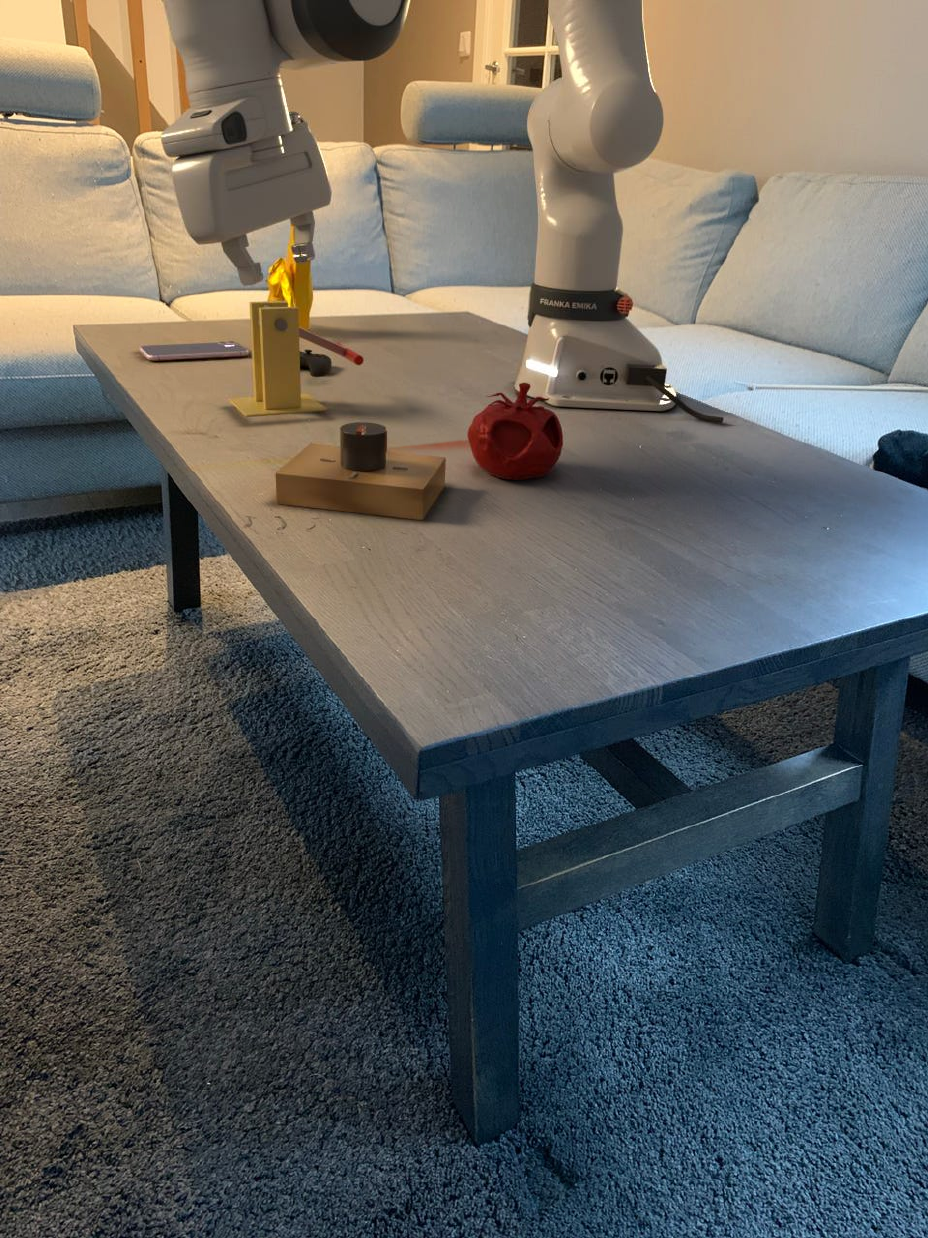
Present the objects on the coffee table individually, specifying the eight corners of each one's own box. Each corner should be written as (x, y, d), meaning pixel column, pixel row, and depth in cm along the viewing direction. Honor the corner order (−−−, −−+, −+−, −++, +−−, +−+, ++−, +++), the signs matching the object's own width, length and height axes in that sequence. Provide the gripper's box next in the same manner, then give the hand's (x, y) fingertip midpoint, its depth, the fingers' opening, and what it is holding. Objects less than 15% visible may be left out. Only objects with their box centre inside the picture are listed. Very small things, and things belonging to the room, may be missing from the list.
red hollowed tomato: (451, 460, 104) (455, 374, 100) (534, 453, 108) (541, 370, 104) (490, 490, 96) (496, 397, 92) (577, 481, 100) (587, 392, 96)
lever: (336, 357, 122) (344, 339, 122) (359, 371, 116) (367, 352, 116) (250, 319, 116) (257, 300, 115) (269, 331, 109) (277, 311, 109)
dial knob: (346, 455, 94) (346, 417, 92) (390, 459, 94) (391, 420, 92) (335, 469, 90) (334, 429, 89) (381, 473, 90) (381, 433, 88)
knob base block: (444, 485, 97) (445, 455, 95) (422, 520, 88) (423, 487, 87) (311, 471, 99) (310, 441, 97) (276, 503, 90) (275, 471, 89)
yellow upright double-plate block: (306, 402, 123) (304, 298, 117) (327, 418, 117) (326, 309, 111) (229, 407, 119) (222, 300, 113) (246, 424, 113) (240, 311, 107)
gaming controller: (256, 368, 134) (271, 333, 136) (272, 390, 139) (287, 355, 141) (317, 377, 131) (332, 341, 133) (331, 399, 136) (345, 364, 138)
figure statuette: (257, 323, 170) (250, 186, 160) (301, 322, 173) (297, 187, 163) (280, 343, 155) (275, 194, 145) (327, 341, 158) (325, 195, 148)
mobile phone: (137, 344, 144) (237, 339, 150) (138, 350, 145) (237, 346, 151) (147, 354, 138) (250, 349, 144) (148, 361, 139) (250, 356, 145)
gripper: (278, 113, 100) (310, 252, 107) (146, 139, 85) (193, 299, 92) (328, 104, 97) (358, 247, 104) (202, 129, 82) (246, 295, 89)
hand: (280, 272), depth 98 cm, fingers open, 8 cm apart
